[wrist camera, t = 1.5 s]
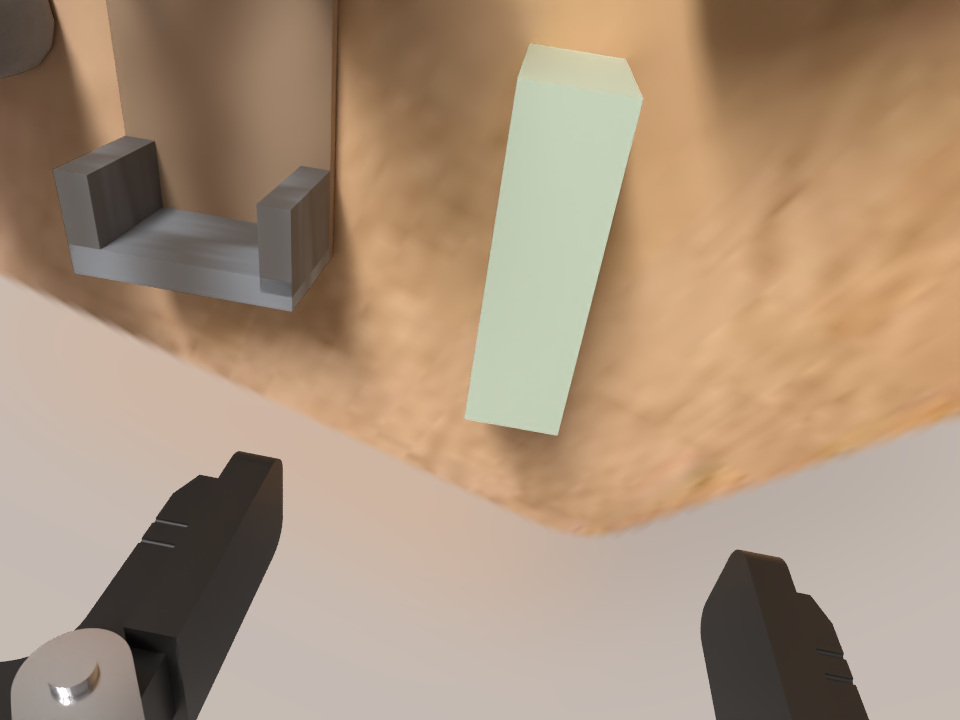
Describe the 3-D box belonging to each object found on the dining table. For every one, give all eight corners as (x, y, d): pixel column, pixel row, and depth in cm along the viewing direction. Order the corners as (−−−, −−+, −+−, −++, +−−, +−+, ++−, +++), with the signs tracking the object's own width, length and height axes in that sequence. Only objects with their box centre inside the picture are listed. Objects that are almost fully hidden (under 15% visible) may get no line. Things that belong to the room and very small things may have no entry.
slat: (625, 58, 25) (643, 98, 19) (559, 340, 31) (557, 435, 25) (529, 42, 25) (517, 77, 19) (484, 326, 31) (464, 419, 25)
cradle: (343, -272, 21) (281, -327, 16) (333, 255, 30) (292, 311, 26) (71, -315, 21) (-62, -381, 16) (146, 223, 30) (74, 273, 26)
